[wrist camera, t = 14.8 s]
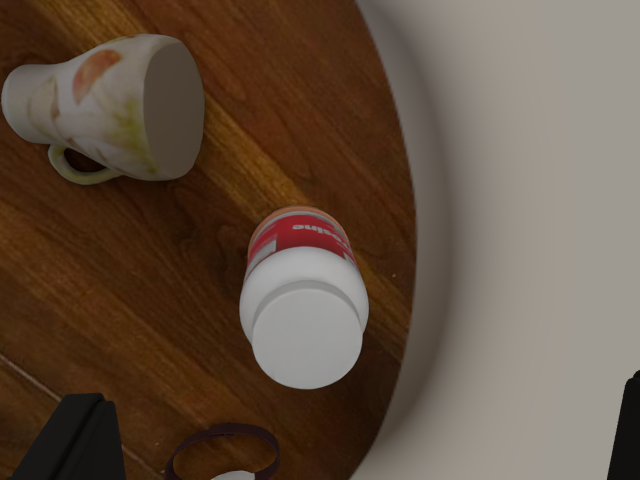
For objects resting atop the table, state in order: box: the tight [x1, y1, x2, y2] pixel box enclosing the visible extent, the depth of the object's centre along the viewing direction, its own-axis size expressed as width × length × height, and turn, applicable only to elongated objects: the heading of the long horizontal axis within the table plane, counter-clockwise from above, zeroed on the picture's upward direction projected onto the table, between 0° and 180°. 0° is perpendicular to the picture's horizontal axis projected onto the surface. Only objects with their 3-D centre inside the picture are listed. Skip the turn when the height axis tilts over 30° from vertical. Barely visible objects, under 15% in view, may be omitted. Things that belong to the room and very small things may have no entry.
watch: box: [164, 423, 280, 480], centre depth 36 cm, size 8×5×4 cm, turn 100°
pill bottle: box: [239, 211, 369, 389], centre depth 28 cm, size 6×6×11 cm
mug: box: [1, 34, 205, 185], centre depth 28 cm, size 8×10×10 cm
